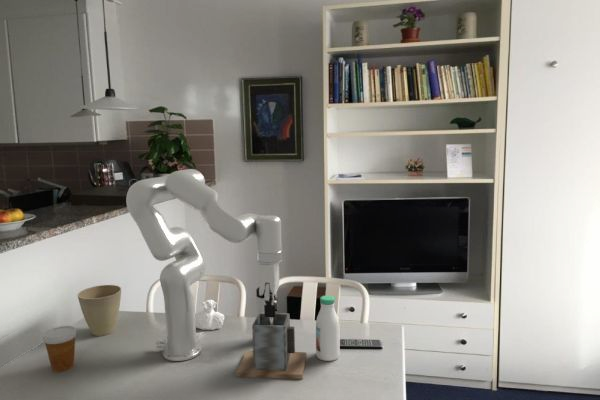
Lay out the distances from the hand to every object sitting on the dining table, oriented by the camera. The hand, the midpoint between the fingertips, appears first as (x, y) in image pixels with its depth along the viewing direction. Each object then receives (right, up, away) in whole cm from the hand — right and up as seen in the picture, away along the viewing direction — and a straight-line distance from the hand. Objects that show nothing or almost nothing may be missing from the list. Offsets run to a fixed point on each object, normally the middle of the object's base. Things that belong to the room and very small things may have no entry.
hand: (271, 313), depth 141 cm
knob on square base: (0, -13, +2) cm, 13 cm away
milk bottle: (+18, -16, +9) cm, 26 cm away
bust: (-26, -14, +33) cm, 44 cm away
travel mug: (-3, -15, +21) cm, 26 cm away
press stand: (0, -17, +3) cm, 17 cm away
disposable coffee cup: (-67, -19, +5) cm, 69 cm away
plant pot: (-65, -15, +30) cm, 73 cm away
